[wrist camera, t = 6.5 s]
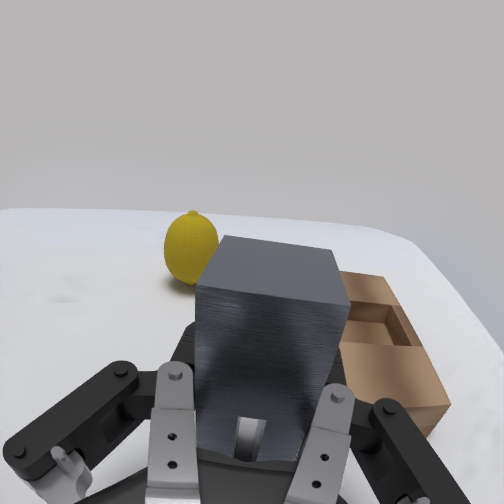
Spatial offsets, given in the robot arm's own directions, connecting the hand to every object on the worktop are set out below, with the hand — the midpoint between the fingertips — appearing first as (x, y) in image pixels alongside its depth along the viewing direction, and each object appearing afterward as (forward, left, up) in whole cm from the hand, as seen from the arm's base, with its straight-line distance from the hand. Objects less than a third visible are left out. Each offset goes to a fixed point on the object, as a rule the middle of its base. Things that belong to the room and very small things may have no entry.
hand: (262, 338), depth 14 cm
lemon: (-8, +16, -7) cm, 19 cm away
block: (0, -3, -7) cm, 8 cm away
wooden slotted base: (+8, +8, -7) cm, 14 cm away
